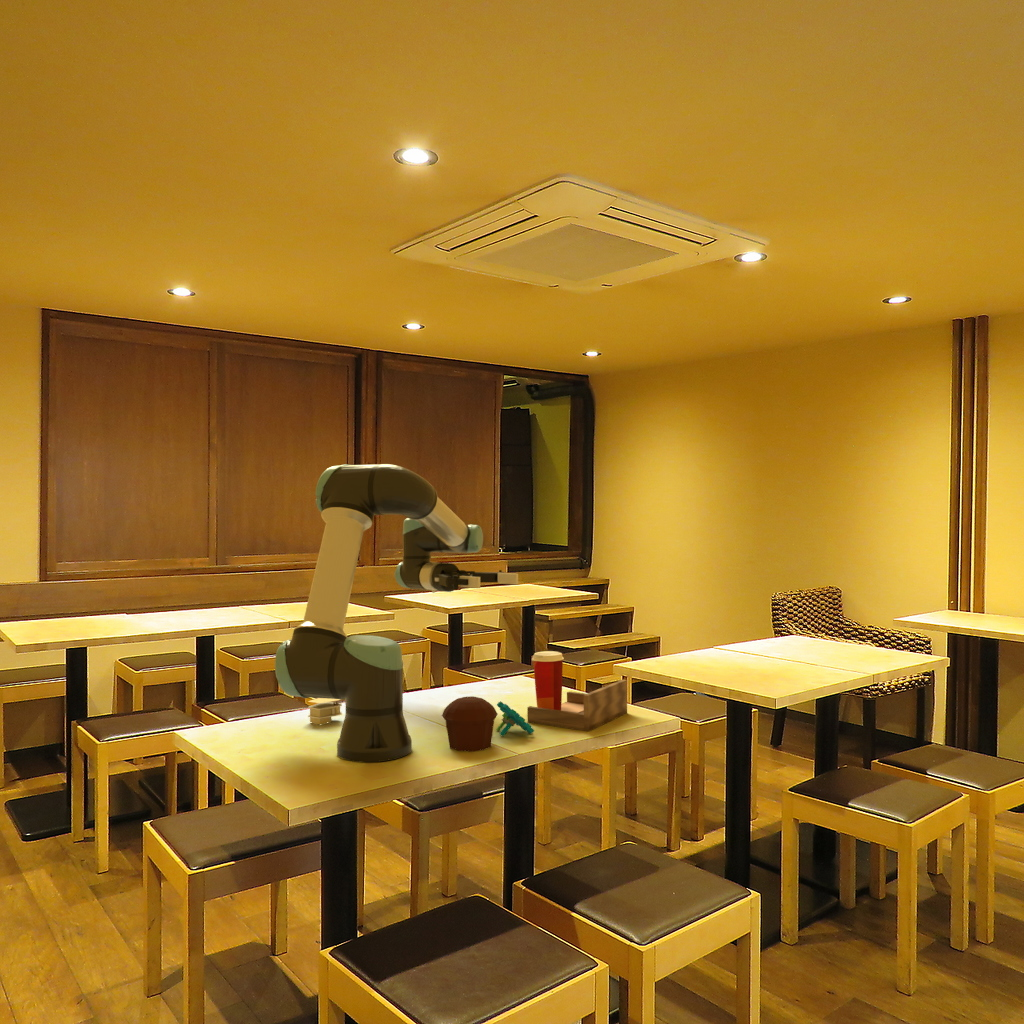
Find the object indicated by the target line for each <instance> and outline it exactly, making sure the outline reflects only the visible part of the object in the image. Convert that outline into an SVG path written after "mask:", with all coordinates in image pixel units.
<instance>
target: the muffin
mask: <svg viewBox="0 0 1024 1024" xmlns="http://www.w3.org/2000/svg"><path fill="white" fill-rule="evenodd" d="M498 714H499V713H498V712H497V711H496V707H494V705H492V704H491V703H490V702H489V701H487V700H486V699H485V698H482V697H478V696H462V697H458V698H456V699H455V700H453V701H451V702H449V704H448V705H446V707H444V710H443V712H442V713H441V717H442V718H443V719H444V720H445V725H446V731H447V738H448V743H449V744H448V745H449V749H452V750H455V751H458V752H468V753H472V752H478V751H485V750H487V749H489V748H491V747H492V741H493V740H492V739H493V732H494V731H493V730H494V726H495V725H494V723H495V720H496V718H497V716H498Z"/></svg>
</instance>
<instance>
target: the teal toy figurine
mask: <svg viewBox="0 0 1024 1024" xmlns="http://www.w3.org/2000/svg"><path fill="white" fill-rule="evenodd" d="M496 706H497V707H498V708H499V710H500V711H501V712H502V713H503V714H502V719H501V723H500V724H499V725H498V727H496V731H498V732H499V735H500V736H501V737H504V736H505V735H506V734H507V732H508V731H509V730H510V729H511V728H512V727H514V726H515V725H516V726H517V727H520V728H521V729H522V731H525V732H527V733H528V734H533V733H534V731H535V730H534V728H533V727H532V725H531V723H529V722H526V719H525V718H524V717H523V716H521V714H519V713H518V712H517V711H516V710H514V709H513V708H511V707H510V706H509V705H508V704H507V703H504V702H502V701H498V702H497V704H496ZM503 727H504V728H503Z"/></svg>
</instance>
